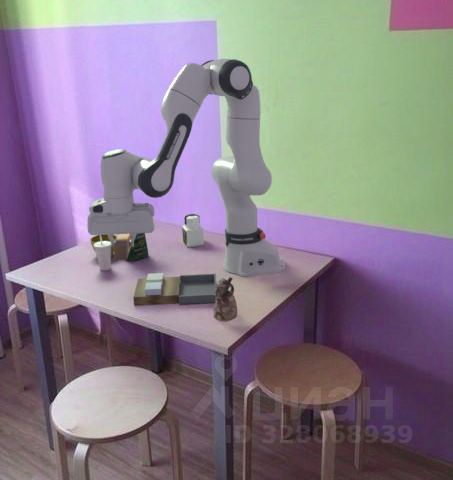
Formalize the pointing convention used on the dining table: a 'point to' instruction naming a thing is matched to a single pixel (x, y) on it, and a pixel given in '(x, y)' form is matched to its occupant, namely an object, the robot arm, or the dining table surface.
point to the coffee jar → (138, 248)
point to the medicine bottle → (192, 231)
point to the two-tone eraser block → (122, 246)
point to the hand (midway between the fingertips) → (123, 246)
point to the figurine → (225, 301)
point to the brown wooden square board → (167, 295)
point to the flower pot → (104, 238)
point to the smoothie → (103, 254)
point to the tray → (197, 289)
